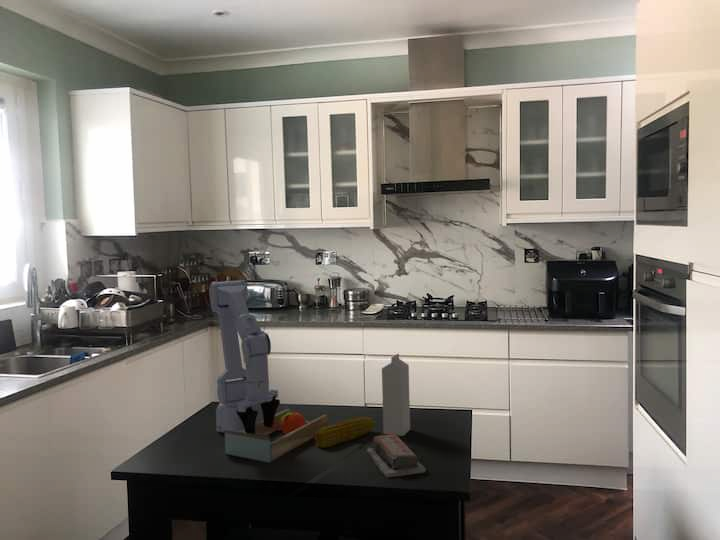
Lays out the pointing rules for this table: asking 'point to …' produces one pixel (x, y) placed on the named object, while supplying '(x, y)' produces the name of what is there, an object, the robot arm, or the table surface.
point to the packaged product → (394, 456)
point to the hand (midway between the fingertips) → (259, 431)
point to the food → (343, 431)
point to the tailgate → (247, 445)
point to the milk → (396, 397)
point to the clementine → (291, 422)
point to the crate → (291, 438)
